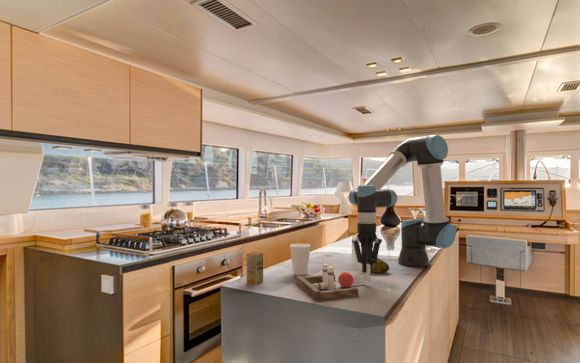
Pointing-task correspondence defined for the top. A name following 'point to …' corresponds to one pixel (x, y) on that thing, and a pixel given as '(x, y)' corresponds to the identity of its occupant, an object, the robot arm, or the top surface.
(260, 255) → the shoe polish box
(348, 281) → the ball
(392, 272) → the top surface
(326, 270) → the pin
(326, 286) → the front pin
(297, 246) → the foam cup
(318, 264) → the top surface
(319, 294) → the rail
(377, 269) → the potato
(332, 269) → the pin
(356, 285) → the thin gray bar
